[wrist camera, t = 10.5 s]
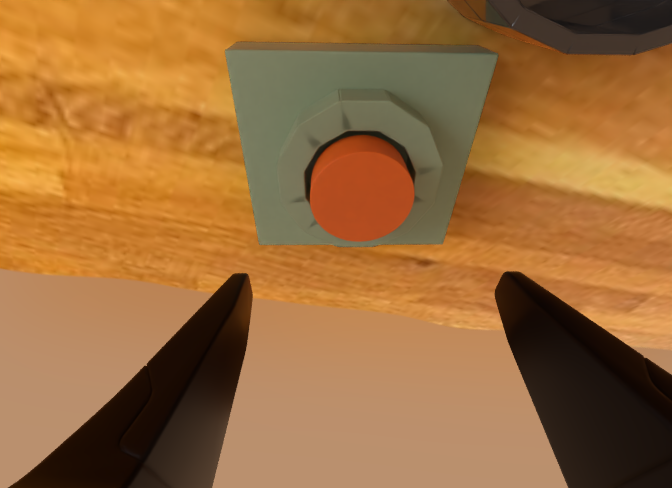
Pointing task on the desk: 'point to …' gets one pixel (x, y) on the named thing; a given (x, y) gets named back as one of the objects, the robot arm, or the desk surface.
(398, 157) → the button
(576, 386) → the robot arm
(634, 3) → the bowl
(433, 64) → the control block
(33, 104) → the desk surface
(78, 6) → the desk surface
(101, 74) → the desk surface
